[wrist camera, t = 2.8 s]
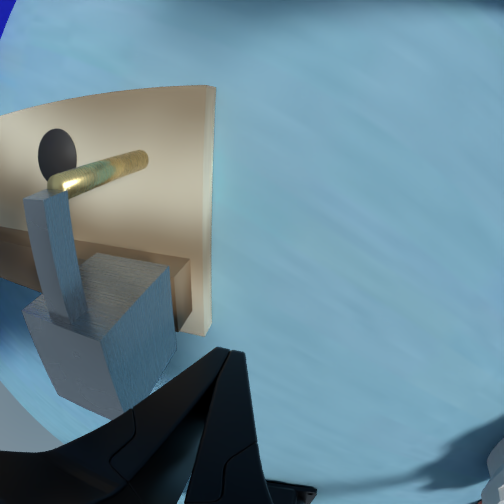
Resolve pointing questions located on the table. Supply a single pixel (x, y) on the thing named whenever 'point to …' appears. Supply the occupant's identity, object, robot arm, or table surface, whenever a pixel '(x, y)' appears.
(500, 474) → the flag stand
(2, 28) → the blue cradle bracket
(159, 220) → the hole plate
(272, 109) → the table surface
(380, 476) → the table surface
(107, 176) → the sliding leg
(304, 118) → the table surface
